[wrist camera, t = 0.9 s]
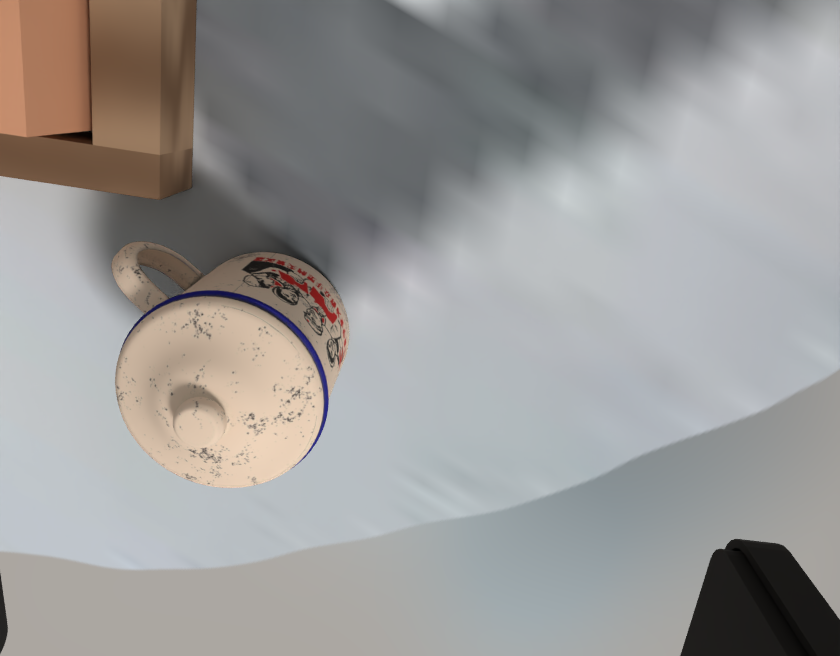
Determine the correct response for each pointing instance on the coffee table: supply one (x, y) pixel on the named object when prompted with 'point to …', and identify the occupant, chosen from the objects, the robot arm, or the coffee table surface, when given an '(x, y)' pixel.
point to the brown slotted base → (125, 107)
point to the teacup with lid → (228, 363)
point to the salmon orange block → (45, 67)
